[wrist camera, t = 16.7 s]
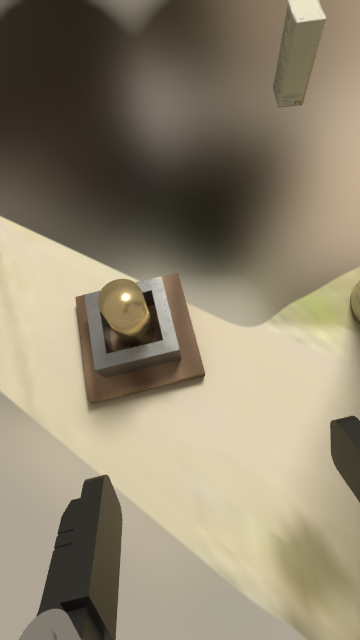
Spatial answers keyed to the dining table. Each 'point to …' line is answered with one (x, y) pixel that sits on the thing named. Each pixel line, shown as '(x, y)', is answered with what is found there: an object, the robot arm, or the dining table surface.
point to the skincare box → (297, 50)
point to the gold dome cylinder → (126, 312)
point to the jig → (142, 361)
